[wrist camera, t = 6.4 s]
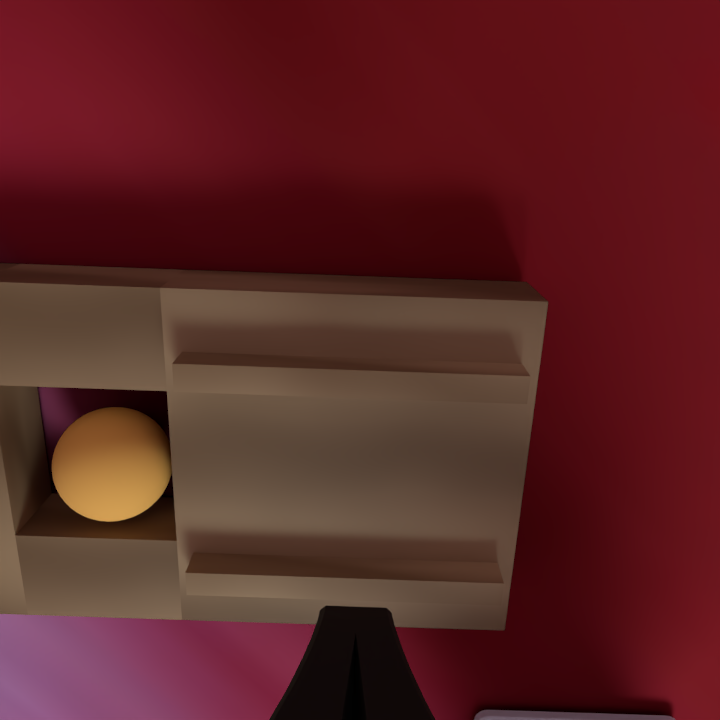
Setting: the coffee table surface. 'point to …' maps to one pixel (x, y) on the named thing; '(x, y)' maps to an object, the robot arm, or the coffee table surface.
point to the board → (276, 443)
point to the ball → (112, 464)
